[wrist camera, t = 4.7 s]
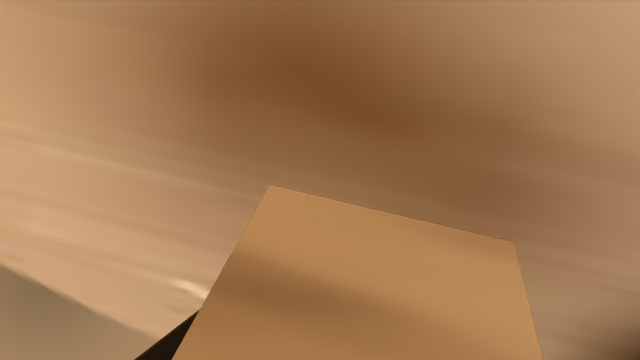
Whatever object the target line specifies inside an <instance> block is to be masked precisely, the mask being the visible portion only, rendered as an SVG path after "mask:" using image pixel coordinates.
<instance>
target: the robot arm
mask: <svg viewBox="0 0 640 360" xmlns="http://www.w3.org/2000/svg"><path fill="white" fill-rule="evenodd" d="M198 312H199V310H198V311H197V312H196V313H194V314H193V315H192V316H190V317H189V318H188V319H187V320H185V321H184V322H183V323H181V324H180V325H179V326H177V327H176V328H175V329H174V330H172V331H171V332H170V333H168V334H167V335H166V336H164V337H163V338H162V339H161V340H159V341H158V342H157V343H155V344H154V345H153V346H152V347H150V348H149V349H148V350H146V351H145V352H144V353H142V354H141V355H140V356H138V357H137V358H136V359H135V360H172V358H173V357H174V355H175V353H176V351H177V349H178V348H179V346H180V344H181V342H182V341H183V339H184V337H185V335H186V333H187V332H188V330H189V328H190V326H191V325H192V323H193V321H194V319H195V317H196V316H197V314H198Z"/></svg>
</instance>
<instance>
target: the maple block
mask: <svg viewBox="0 0 640 360" xmlns="http://www.w3.org/2000/svg"><path fill="white" fill-rule="evenodd" d="M172 360H542V357H541V353H540V348H539V344H538V340H537V336H536V332H535V328H534V323H533V319H532V315H531V311H530V307H529V302H528V298H527V294H526V290H525V286H524V282H523V277H522V273H521V269H520V265H519V261H518V257H517V252H516V248H515V244H514V242H511V241H507V240H502V239H498V238H494V237H490V236H486V235H481V234H477V233H473V232H469V231H464V230H460V229H456V228H452V227H447V226H443V225H439V224H435V223H430V222H426V221H422V220H418V219H413V218H409V217H405V216H401V215H396V214H392V213H388V212H384V211H379V210H375V209H371V208H367V207H362V206H358V205H354V204H350V203H345V202H341V201H337V200H333V199H328V198H324V197H320V196H316V195H311V194H307V193H303V192H299V191H294V190H290V189H286V188H282V187H277V186H273V185H270V186H269V188H268V190H267V191H266V193H265V195H264V197H263V199H262V200H261V202H260V204H259V206H258V207H257V209H256V211H255V213H254V214H253V216H252V218H251V220H250V222H249V223H248V225H247V227H246V229H245V230H244V232H243V234H242V236H241V238H240V239H239V241H238V243H237V245H236V246H235V248H234V250H233V252H232V254H231V255H230V257H229V259H228V261H227V262H226V264H225V266H224V268H223V270H222V271H221V273H220V275H219V277H218V278H217V280H216V282H215V284H214V286H213V287H212V289H211V291H210V293H209V294H208V296H207V298H206V300H205V301H204V303H203V305H202V307H201V309H200V310H199V312H198V314H197V316H196V317H195V319H194V321H193V323H192V325H191V326H190V328H189V330H188V332H187V333H186V335H185V337H184V339H183V341H182V342H181V344H180V346H179V348H178V349H177V351H176V353H175V355H174V357H173V358H172Z"/></svg>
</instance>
